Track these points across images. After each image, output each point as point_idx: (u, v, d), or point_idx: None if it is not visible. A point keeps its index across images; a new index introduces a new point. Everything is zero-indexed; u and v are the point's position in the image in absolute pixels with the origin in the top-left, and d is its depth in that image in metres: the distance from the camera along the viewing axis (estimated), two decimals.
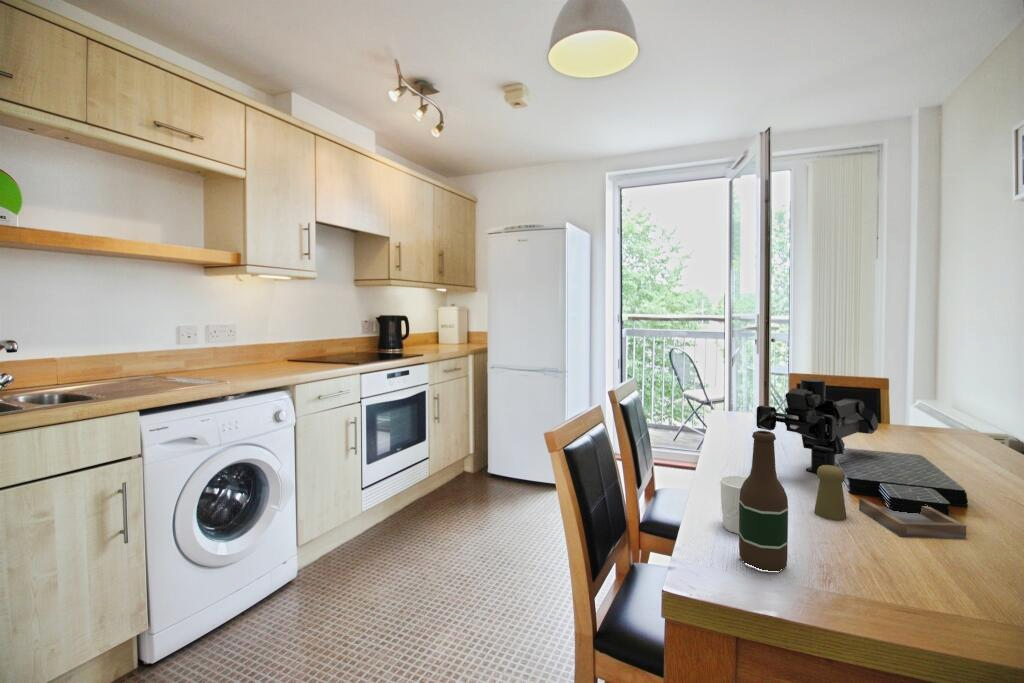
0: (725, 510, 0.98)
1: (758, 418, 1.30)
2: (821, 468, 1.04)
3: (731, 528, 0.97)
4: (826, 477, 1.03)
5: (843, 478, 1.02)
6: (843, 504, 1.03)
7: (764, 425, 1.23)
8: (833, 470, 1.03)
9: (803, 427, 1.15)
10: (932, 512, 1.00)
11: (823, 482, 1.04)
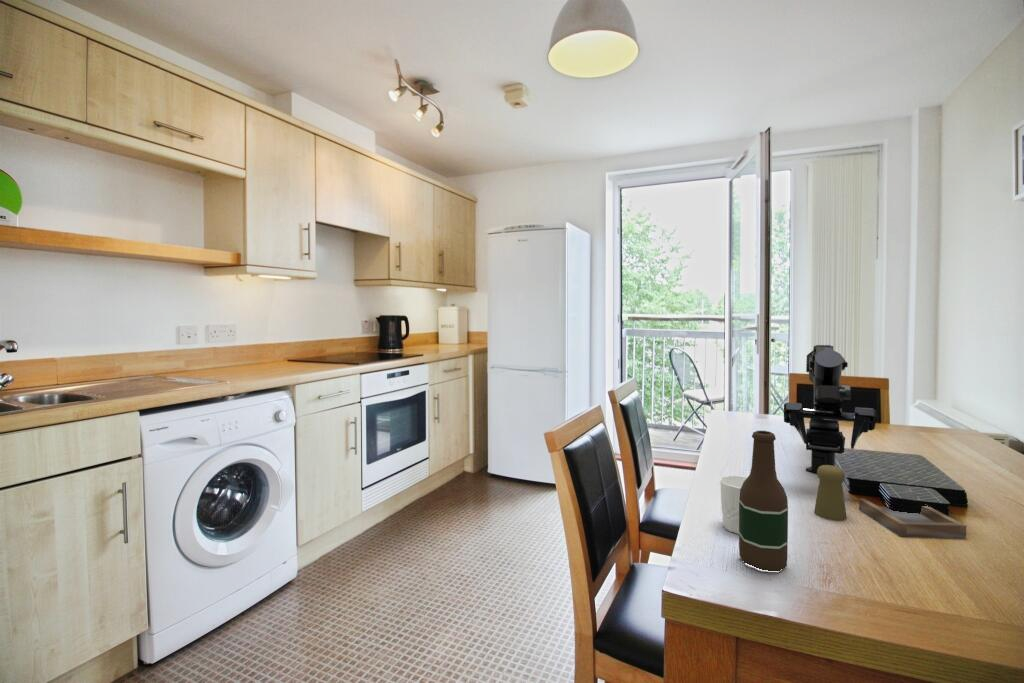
0: (725, 510, 0.98)
1: (786, 416, 1.20)
2: (821, 468, 1.04)
3: (731, 528, 0.97)
4: (826, 477, 1.03)
5: (843, 478, 1.02)
6: (843, 504, 1.03)
7: None
8: (833, 470, 1.03)
9: (855, 440, 1.09)
10: (932, 512, 1.00)
11: (823, 482, 1.04)
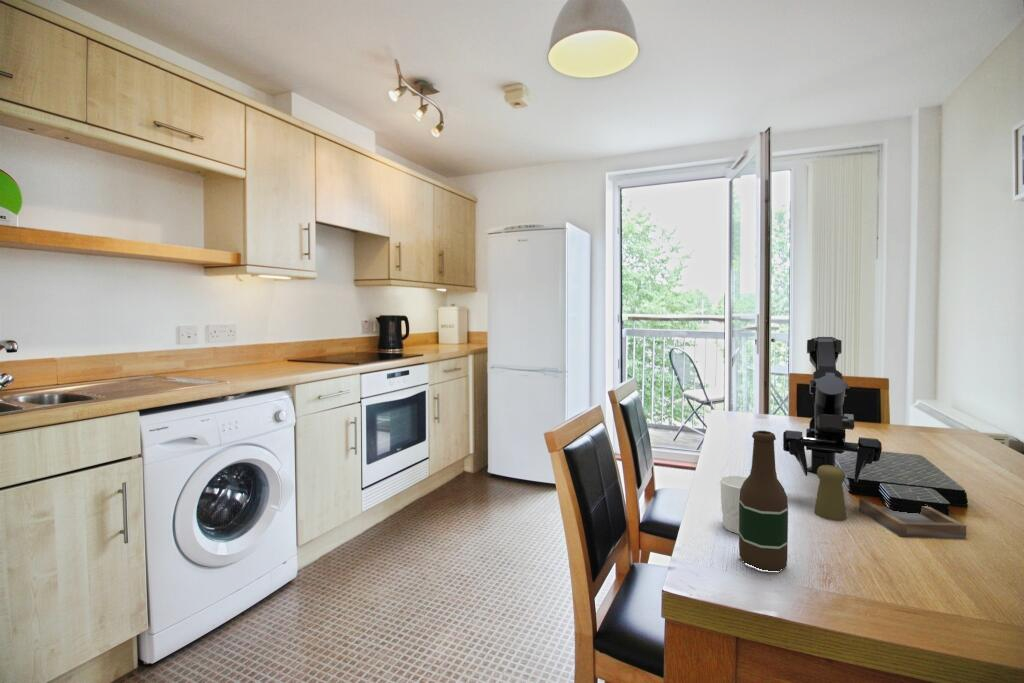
0: (725, 510, 0.98)
1: (785, 445, 1.14)
2: (821, 468, 1.04)
3: (731, 528, 0.97)
4: (826, 477, 1.03)
5: (843, 478, 1.02)
6: (843, 504, 1.03)
7: None
8: (833, 470, 1.03)
9: (859, 473, 1.03)
10: (932, 512, 1.00)
11: (823, 482, 1.04)
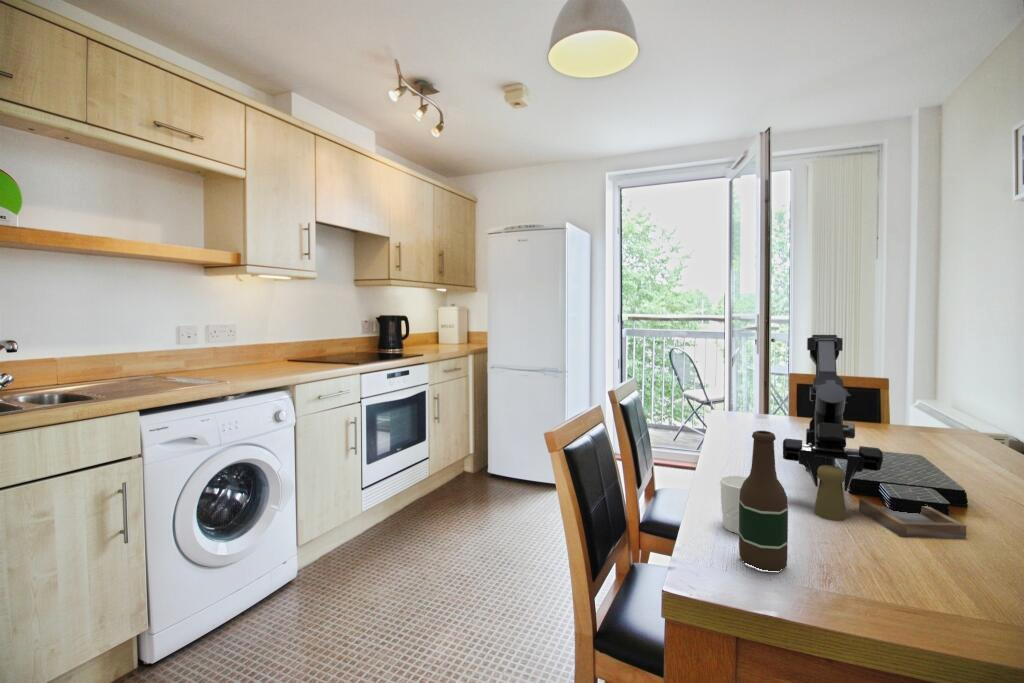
0: (725, 510, 0.98)
1: (785, 453, 1.12)
2: (821, 468, 1.04)
3: (731, 528, 0.97)
4: (826, 477, 1.03)
5: (843, 478, 1.02)
6: (843, 504, 1.03)
7: None
8: (833, 470, 1.03)
9: (849, 481, 1.02)
10: (932, 512, 1.00)
11: (823, 481, 1.04)
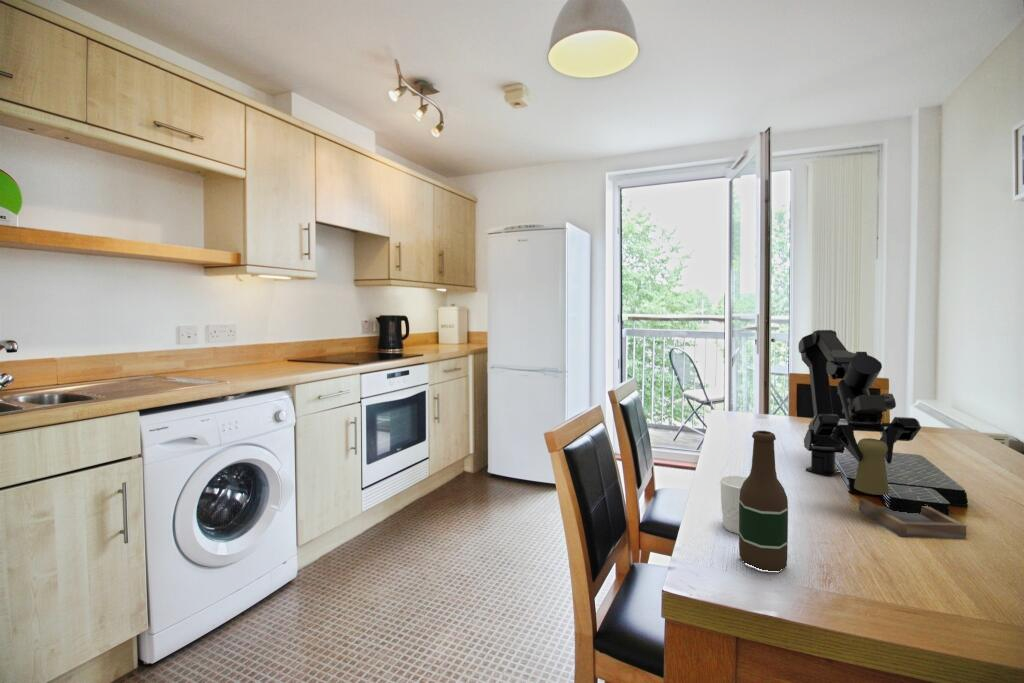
0: (725, 510, 0.98)
1: (819, 430, 1.08)
2: (864, 442, 1.01)
3: (731, 528, 0.97)
4: (871, 450, 0.99)
5: (887, 450, 0.99)
6: (886, 477, 1.00)
7: None
8: (878, 442, 0.99)
9: (892, 453, 1.00)
10: (932, 512, 1.00)
11: (867, 456, 1.00)
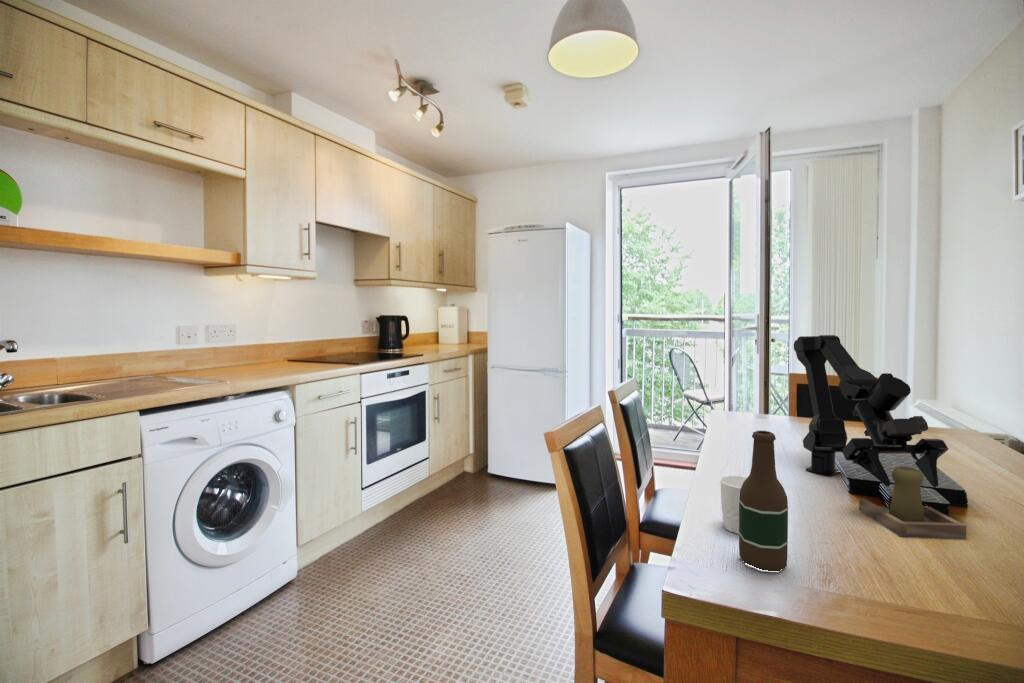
0: (725, 510, 0.98)
1: (852, 454, 1.05)
2: (901, 471, 0.99)
3: (731, 528, 0.97)
4: (911, 480, 0.98)
5: None
6: None
7: None
8: (915, 472, 0.99)
9: None
10: (932, 512, 1.00)
11: (905, 485, 0.99)
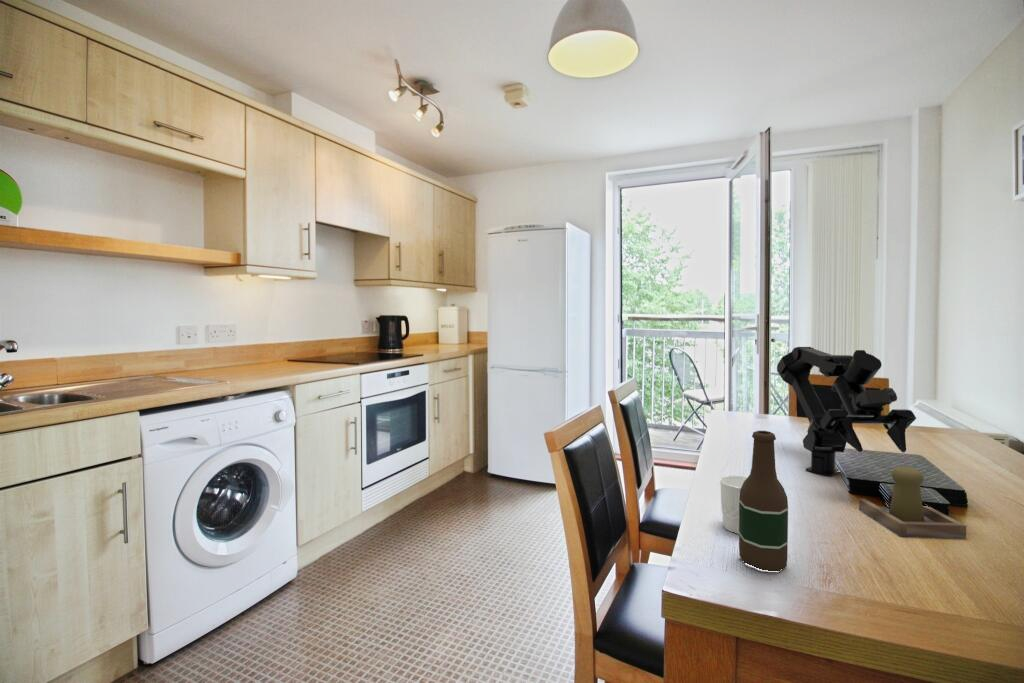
0: (725, 510, 0.98)
1: (828, 424, 1.14)
2: (901, 471, 0.99)
3: (731, 528, 0.97)
4: (911, 480, 0.98)
5: None
6: None
7: None
8: (915, 472, 0.99)
9: None
10: (932, 512, 1.00)
11: (905, 485, 0.99)
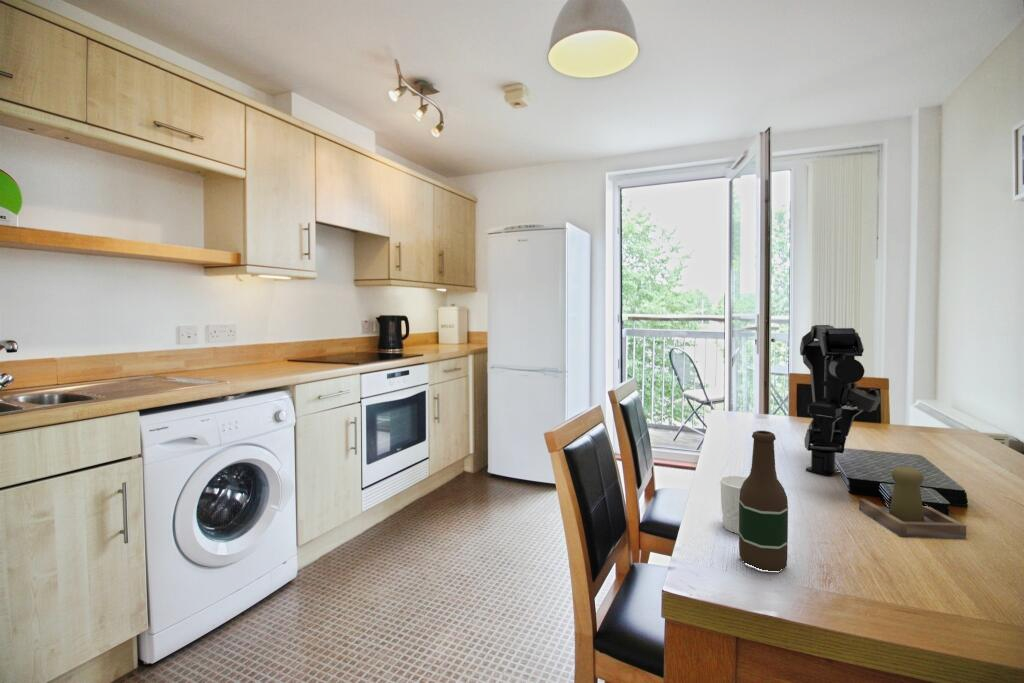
0: (725, 510, 0.98)
1: (819, 414, 1.14)
2: (901, 471, 0.99)
3: (731, 528, 0.97)
4: (911, 480, 0.98)
5: None
6: None
7: None
8: (915, 472, 0.99)
9: None
10: (932, 512, 1.00)
11: (905, 485, 0.99)
